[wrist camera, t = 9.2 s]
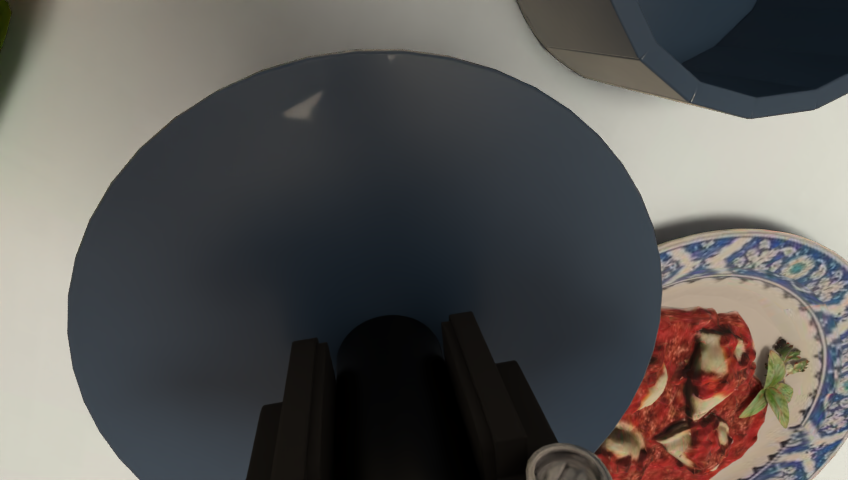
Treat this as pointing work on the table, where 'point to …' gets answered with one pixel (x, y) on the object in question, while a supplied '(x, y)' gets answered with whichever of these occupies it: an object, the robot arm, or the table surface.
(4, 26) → the corn
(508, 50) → the table surface
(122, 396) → the pot lid
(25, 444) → the table surface
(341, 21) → the table surface
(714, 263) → the ceramic plate
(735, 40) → the pot
